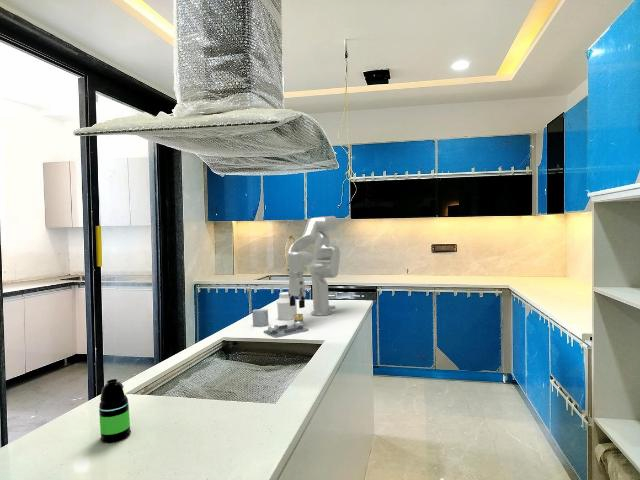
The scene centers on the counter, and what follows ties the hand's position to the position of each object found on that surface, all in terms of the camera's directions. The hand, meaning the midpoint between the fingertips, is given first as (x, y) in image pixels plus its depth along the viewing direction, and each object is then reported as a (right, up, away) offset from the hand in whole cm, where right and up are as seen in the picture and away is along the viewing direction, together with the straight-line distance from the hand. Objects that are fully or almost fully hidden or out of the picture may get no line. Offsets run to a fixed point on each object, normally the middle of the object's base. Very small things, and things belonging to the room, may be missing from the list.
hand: (297, 306), depth 226 cm
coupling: (+1, -10, +1) cm, 10 cm away
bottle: (-42, -16, -115) cm, 124 cm away
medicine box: (-21, -12, +6) cm, 24 cm away
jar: (-7, -10, +21) cm, 25 cm away
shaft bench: (-5, -11, -12) cm, 17 cm away
